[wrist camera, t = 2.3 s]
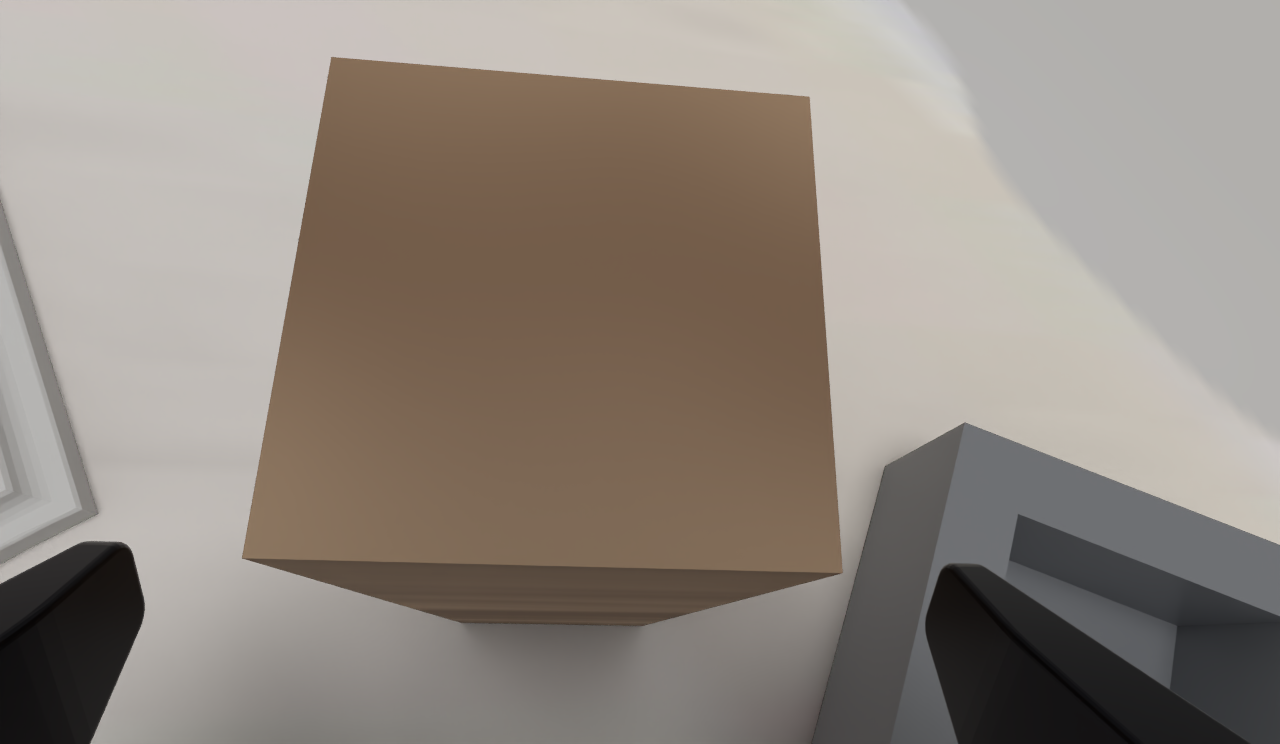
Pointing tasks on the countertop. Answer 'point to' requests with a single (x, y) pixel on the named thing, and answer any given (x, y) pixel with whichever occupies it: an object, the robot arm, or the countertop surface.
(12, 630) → the robot arm
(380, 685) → the countertop surface
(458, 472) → the tall wooden block
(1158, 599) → the end cap
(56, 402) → the molding
